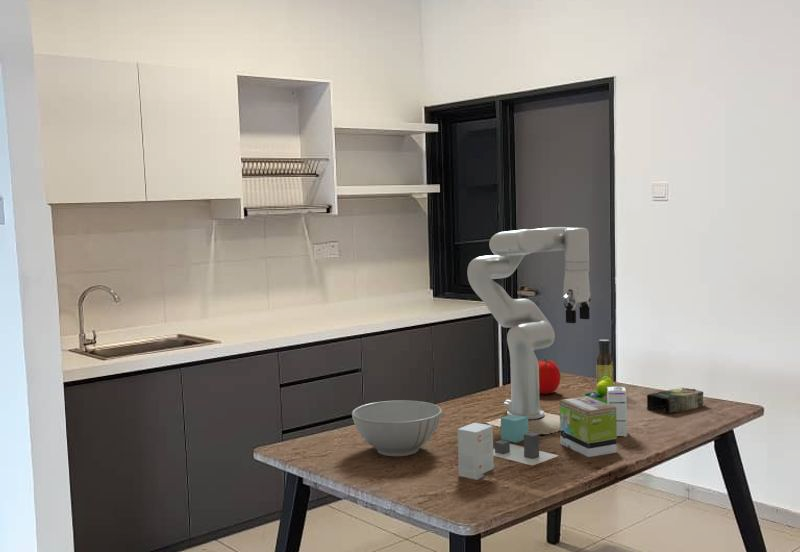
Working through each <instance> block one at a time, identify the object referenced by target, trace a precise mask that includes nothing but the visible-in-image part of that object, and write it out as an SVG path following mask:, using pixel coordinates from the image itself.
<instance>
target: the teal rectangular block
mask: <svg viewBox="0 0 800 552" xmlns="http://www.w3.org/2000/svg"><path fill="white" fill-rule="evenodd" d="M526 433H529V419H528V417H524V416H519V415H515V414H512V415H506V416H503V417H502V416H501V417H500V440H504V441H508V442H512V443H514V444H517V443H520V442H522V441H523V442H524V434H526Z"/></svg>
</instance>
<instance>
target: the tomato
mask: <svg viewBox="0 0 800 552" xmlns="http://www.w3.org/2000/svg"><path fill="white" fill-rule="evenodd" d="M538 364H539V394H545V395H546V394H552V393H554V392H555V391H556V390H557V389H558V388H559V386H560V383H561V372H560V368H559V367H558V365H557V363H556V362H554V361H553V360H550V359H547V358H545V359H538Z"/></svg>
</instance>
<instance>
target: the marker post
mask: <svg viewBox="0 0 800 552" xmlns="http://www.w3.org/2000/svg"><path fill="white" fill-rule="evenodd" d="M523 447H524V457H526V458H530V459H534V458H537V457H539V451H540V434H539V433H535V432H531V431H530V432H529V431H528V433H526V434H524V440H523Z"/></svg>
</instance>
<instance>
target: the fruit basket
mask: <svg viewBox="0 0 800 552" xmlns="http://www.w3.org/2000/svg"><path fill="white" fill-rule="evenodd" d="M607 387H612V380H611V379H610V377H607V376H604V377H603V378H602V380H601V381H600V382H599V383H598V384H597V383H596V388H597V389H598V391H597V389H596V390H592V391H591V392H588V393H584V394H582V397H584V396H588V397H590V398H593V399H596V400H598V401H601V402H604V403H606V404H607Z"/></svg>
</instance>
